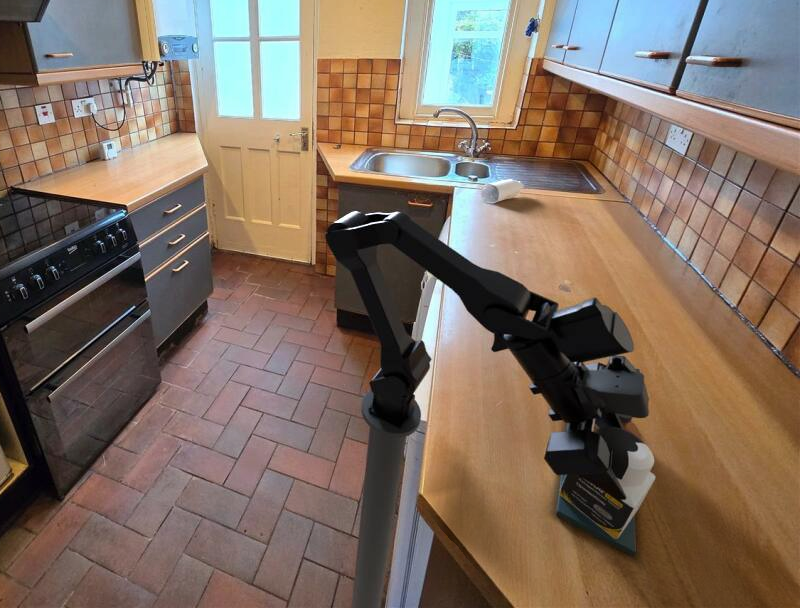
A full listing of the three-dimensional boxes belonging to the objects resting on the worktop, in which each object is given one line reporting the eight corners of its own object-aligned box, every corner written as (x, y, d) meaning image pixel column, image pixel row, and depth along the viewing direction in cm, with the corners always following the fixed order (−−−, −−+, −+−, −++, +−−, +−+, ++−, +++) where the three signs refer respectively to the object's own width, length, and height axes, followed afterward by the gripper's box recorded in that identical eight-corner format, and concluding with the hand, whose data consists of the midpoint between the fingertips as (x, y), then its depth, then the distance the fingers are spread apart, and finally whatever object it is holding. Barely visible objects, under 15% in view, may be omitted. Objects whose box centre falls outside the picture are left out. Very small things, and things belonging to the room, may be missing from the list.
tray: (555, 514, 56) (557, 510, 56) (569, 400, 74) (571, 396, 73) (633, 556, 51) (636, 552, 51) (628, 424, 69) (630, 420, 68)
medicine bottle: (557, 494, 57) (581, 436, 53) (581, 467, 61) (606, 410, 56) (616, 541, 52) (649, 481, 47) (638, 509, 56) (671, 449, 51)
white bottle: (526, 198, 167) (531, 179, 164) (496, 206, 159) (500, 187, 156) (509, 192, 173) (513, 174, 170) (479, 199, 166) (482, 181, 162)
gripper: (608, 401, 42) (709, 537, 41) (618, 315, 55) (695, 415, 54) (510, 415, 50) (591, 530, 48) (539, 337, 63) (604, 424, 61)
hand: (623, 470), depth 53 cm, fingers open, 9 cm apart
